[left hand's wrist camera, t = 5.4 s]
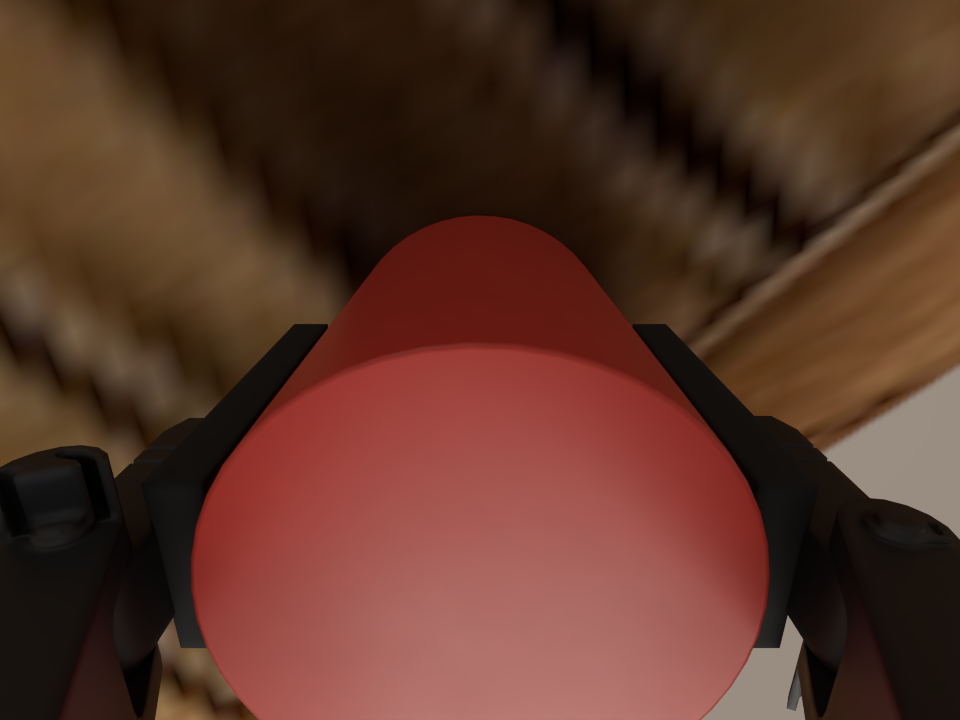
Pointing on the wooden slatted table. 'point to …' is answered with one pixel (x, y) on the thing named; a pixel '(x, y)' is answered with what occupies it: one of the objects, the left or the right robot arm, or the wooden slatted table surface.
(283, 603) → the cylinder
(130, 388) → the wooden slatted table surface
